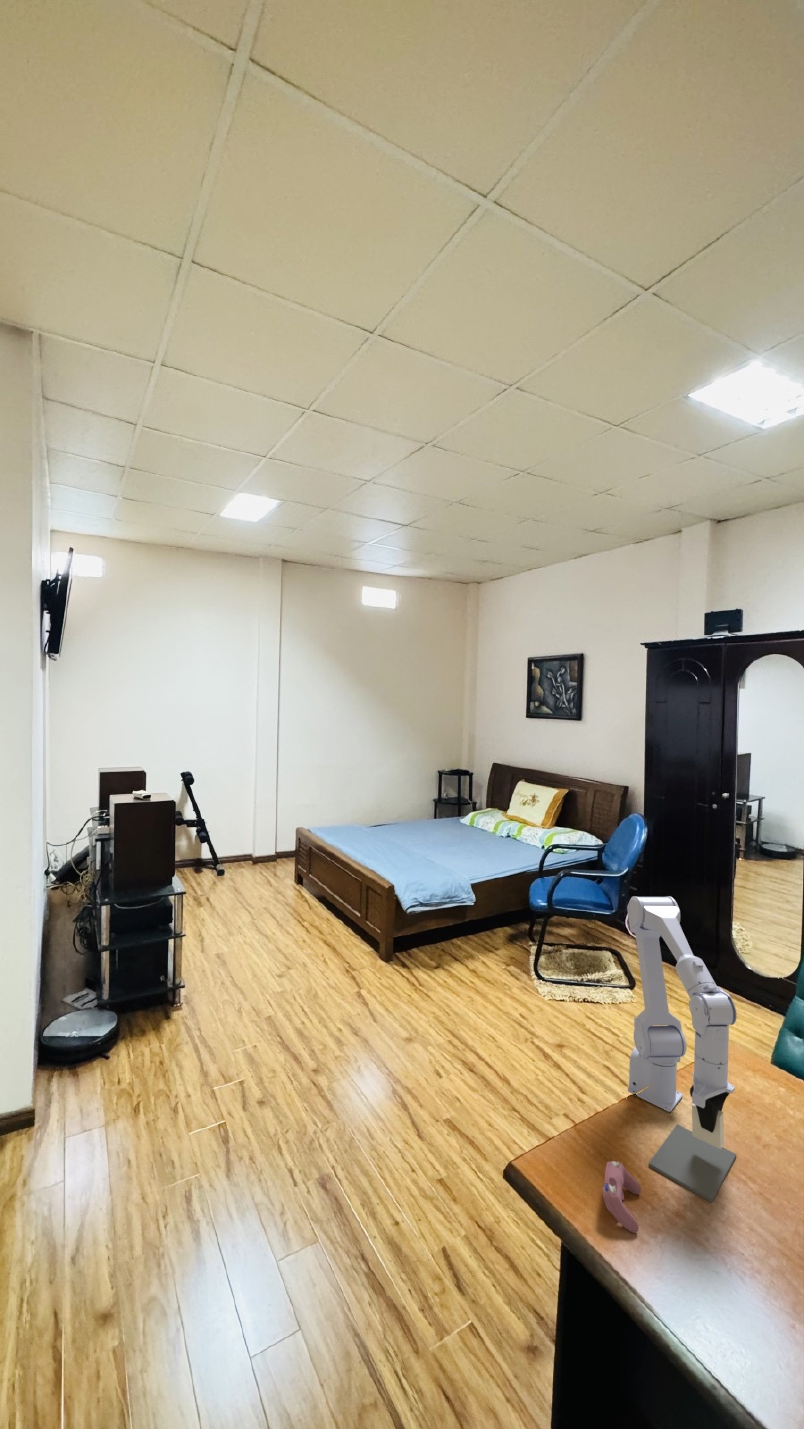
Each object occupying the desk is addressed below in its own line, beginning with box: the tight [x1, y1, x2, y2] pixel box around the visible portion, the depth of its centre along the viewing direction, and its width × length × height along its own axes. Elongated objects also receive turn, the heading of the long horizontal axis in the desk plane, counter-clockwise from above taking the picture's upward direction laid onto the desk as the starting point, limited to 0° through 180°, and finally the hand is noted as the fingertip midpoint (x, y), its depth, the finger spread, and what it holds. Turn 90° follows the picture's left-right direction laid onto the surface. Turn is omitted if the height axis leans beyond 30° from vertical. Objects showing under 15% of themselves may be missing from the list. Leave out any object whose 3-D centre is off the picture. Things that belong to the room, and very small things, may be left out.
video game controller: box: [602, 1160, 642, 1234], centre depth 98 cm, size 10×5×7 cm, turn 154°
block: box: [691, 1103, 725, 1149], centre depth 109 cm, size 5×2×6 cm, turn 45°
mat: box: [648, 1123, 737, 1203], centre depth 108 cm, size 11×15×1 cm
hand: (709, 1125), depth 109 cm, fingers closed on block, 2 cm apart
